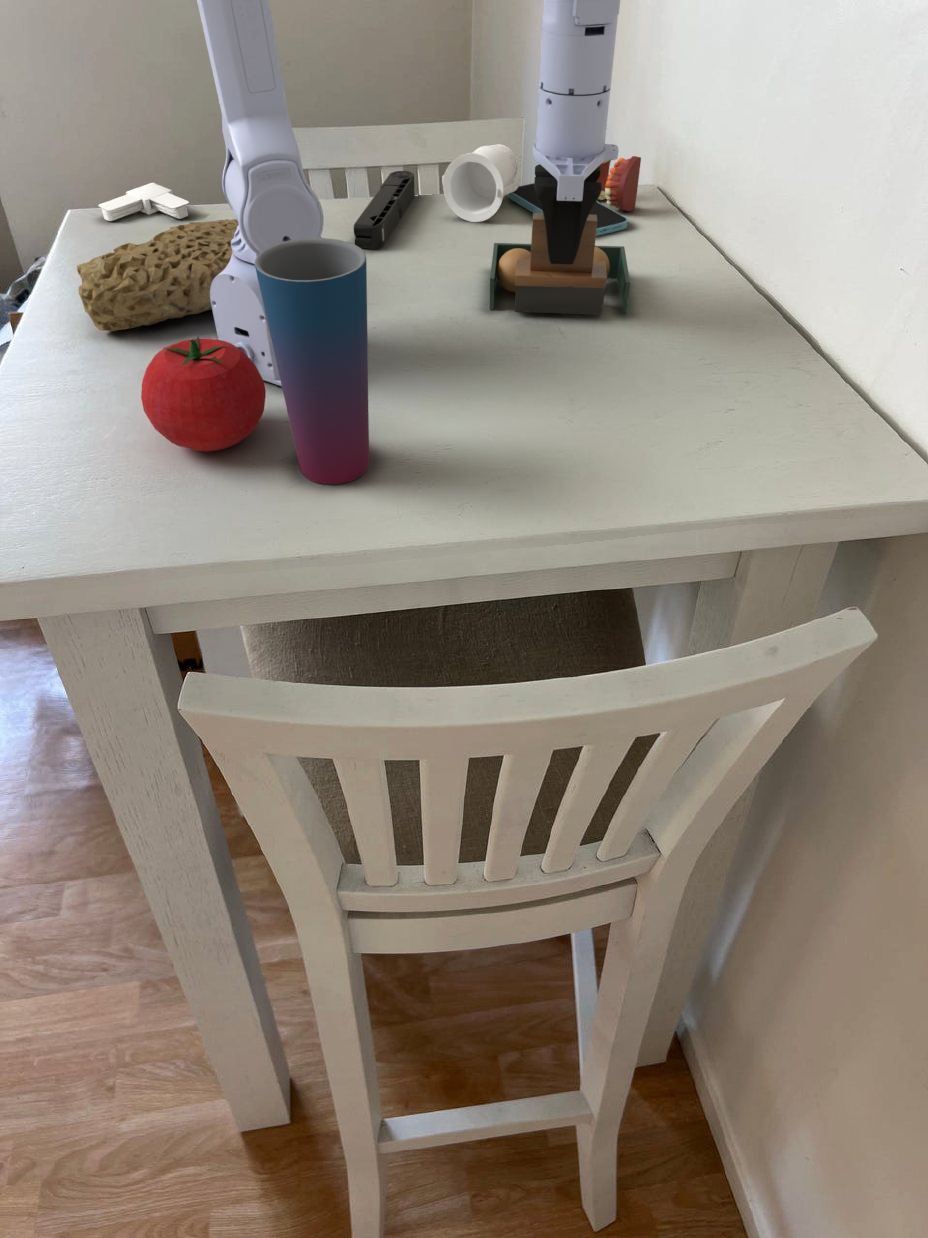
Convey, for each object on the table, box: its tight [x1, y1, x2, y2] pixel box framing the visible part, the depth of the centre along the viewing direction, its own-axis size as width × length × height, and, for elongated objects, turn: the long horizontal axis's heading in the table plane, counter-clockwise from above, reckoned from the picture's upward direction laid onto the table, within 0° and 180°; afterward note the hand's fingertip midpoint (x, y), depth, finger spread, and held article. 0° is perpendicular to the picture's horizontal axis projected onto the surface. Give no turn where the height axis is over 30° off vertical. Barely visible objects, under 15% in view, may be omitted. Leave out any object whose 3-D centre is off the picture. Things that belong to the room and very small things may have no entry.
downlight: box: [441, 143, 520, 223], centre depth 101 cm, size 8×7×10 cm
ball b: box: [497, 248, 531, 294], centre depth 85 cm, size 4×4×4 cm
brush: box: [514, 212, 608, 316], centre depth 80 cm, size 4×8×8 cm, turn 86°
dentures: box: [597, 155, 642, 212], centre depth 102 cm, size 6×4×8 cm
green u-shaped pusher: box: [489, 242, 631, 315], centre depth 86 cm, size 12×13×3 cm
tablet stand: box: [353, 170, 416, 250], centre depth 100 cm, size 18×3×3 cm
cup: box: [255, 237, 370, 485], centre depth 60 cm, size 7×7×15 cm
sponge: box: [76, 218, 239, 332], centre depth 82 cm, size 13×8×20 cm
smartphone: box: [508, 182, 629, 237], centre depth 102 cm, size 7×1×15 cm
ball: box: [593, 247, 610, 277], centre depth 86 cm, size 4×4×4 cm
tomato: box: [140, 336, 267, 452], centre depth 65 cm, size 9×9×8 cm
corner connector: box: [97, 182, 190, 222], centre depth 101 cm, size 8×8×2 cm
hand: (561, 257), depth 80 cm, fingers closed on brush, 2 cm apart
